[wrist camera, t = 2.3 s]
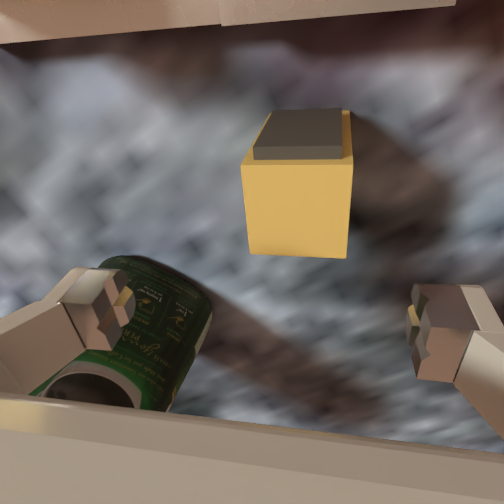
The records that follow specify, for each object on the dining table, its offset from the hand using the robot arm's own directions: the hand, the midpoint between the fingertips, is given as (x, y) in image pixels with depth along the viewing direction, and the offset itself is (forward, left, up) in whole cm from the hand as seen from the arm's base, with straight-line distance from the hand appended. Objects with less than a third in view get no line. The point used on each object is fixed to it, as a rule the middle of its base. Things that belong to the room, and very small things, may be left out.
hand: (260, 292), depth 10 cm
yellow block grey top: (-1, 0, -12) cm, 12 cm away
